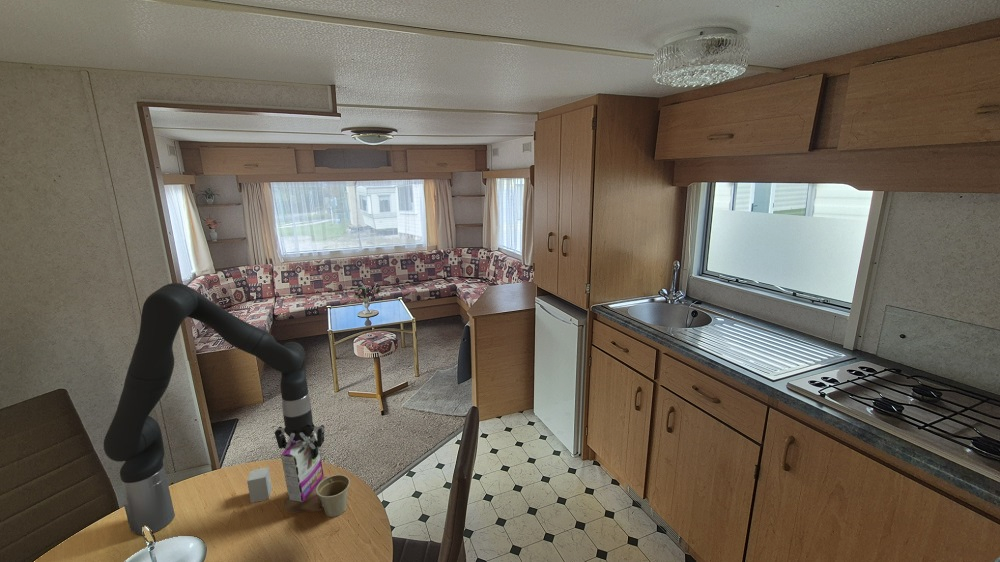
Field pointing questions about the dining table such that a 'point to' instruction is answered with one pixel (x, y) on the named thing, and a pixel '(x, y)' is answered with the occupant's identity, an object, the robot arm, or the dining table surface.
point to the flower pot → (334, 494)
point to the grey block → (259, 484)
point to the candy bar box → (301, 470)
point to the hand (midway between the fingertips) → (303, 458)
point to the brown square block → (305, 503)
